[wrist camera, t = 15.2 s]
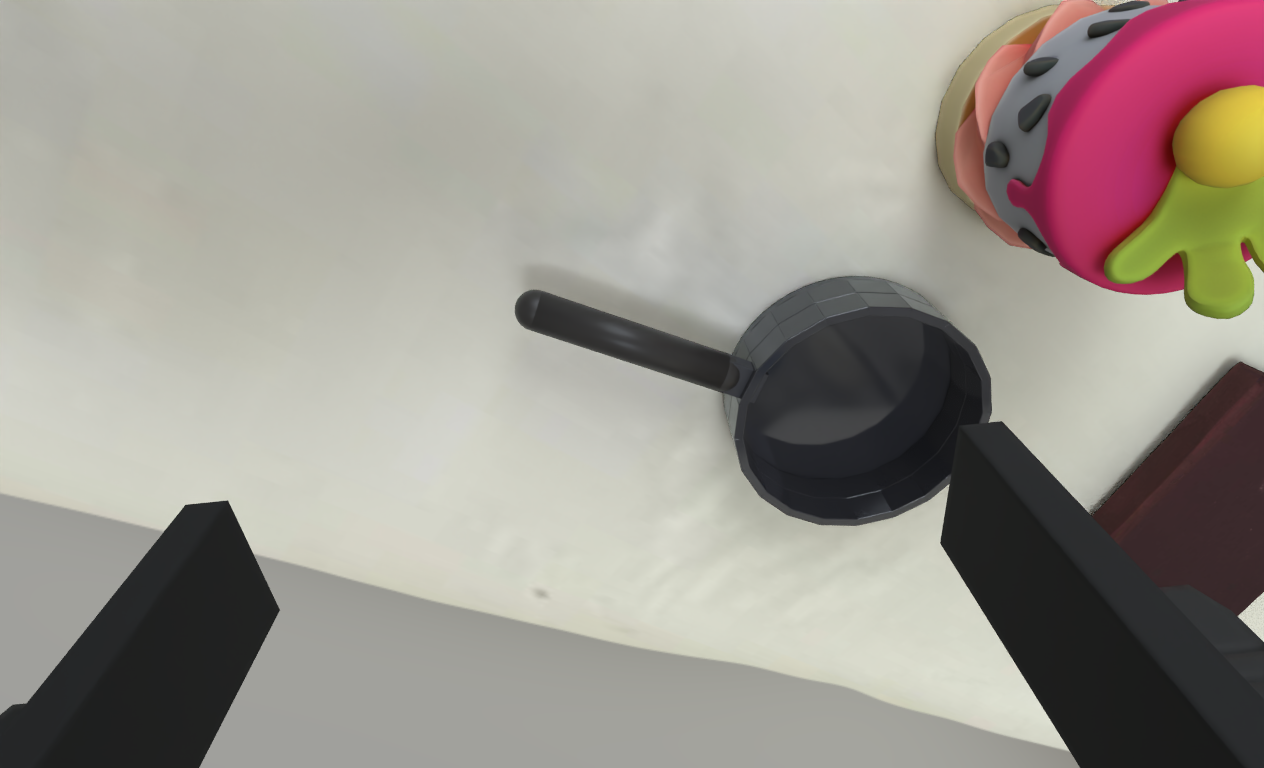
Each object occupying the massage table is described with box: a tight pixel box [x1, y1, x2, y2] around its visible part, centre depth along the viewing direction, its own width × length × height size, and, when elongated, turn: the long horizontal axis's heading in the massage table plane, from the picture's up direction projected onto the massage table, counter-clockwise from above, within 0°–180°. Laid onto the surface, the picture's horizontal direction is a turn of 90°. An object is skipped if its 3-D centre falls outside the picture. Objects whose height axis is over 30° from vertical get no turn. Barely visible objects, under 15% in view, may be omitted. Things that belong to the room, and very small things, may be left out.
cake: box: [935, 0, 1264, 319], centre depth 28 cm, size 10×11×15 cm
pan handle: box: [515, 290, 769, 403], centre depth 36 cm, size 13×2×2 cm, turn 69°
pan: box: [724, 276, 992, 526], centre depth 39 cm, size 13×13×4 cm
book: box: [1092, 362, 1264, 616], centre depth 45 cm, size 12×19×3 cm, turn 156°
